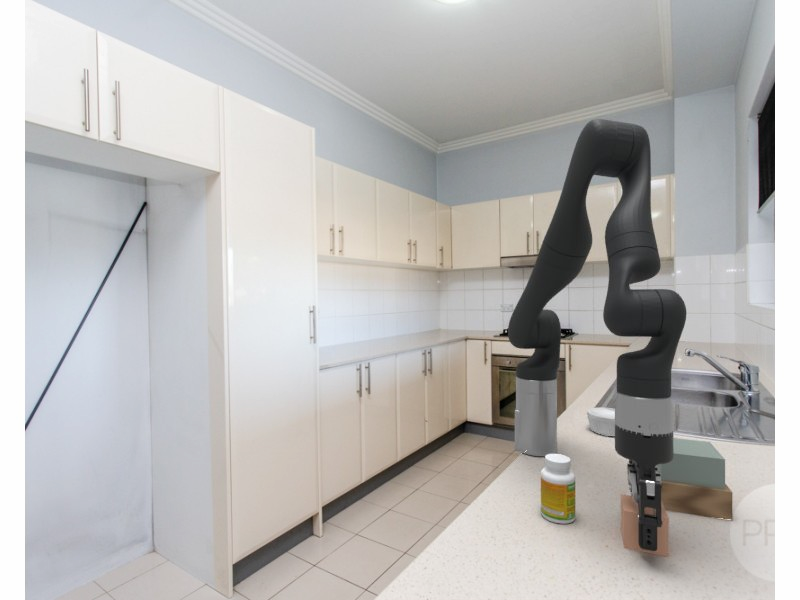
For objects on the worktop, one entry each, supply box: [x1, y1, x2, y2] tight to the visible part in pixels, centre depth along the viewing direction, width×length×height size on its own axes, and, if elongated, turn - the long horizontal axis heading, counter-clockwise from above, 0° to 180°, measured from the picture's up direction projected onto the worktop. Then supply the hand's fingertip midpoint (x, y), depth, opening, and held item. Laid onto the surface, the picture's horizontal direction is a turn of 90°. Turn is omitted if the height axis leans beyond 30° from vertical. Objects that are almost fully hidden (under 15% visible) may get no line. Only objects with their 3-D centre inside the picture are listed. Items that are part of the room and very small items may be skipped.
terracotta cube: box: [620, 493, 670, 558], centre depth 63 cm, size 6×6×6 cm
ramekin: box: [586, 407, 615, 437], centre depth 113 cm, size 11×11×5 cm
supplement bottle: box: [540, 453, 576, 525], centre depth 70 cm, size 5×5×10 cm
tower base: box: [661, 481, 733, 520], centre depth 75 cm, size 10×10×5 cm
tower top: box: [655, 437, 726, 490], centre depth 75 cm, size 9×9×5 cm
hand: (643, 532), depth 63 cm, fingers open, 8 cm apart
